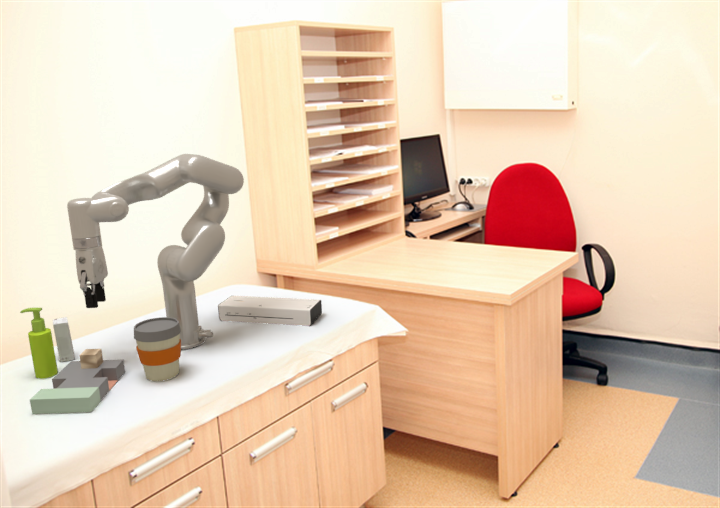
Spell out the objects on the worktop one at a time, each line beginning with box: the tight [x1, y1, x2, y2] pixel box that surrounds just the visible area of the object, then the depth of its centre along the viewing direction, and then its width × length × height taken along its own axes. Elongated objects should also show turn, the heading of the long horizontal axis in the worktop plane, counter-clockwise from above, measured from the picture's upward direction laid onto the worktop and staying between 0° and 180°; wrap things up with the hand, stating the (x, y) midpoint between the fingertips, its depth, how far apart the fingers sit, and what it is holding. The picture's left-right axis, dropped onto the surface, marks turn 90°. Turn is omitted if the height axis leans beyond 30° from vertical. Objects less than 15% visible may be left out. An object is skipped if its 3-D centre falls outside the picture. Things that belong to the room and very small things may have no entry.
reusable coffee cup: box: [133, 316, 182, 382], centre depth 183 cm, size 13×12×15 cm
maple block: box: [79, 348, 104, 369], centre depth 183 cm, size 4×4×4 cm
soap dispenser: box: [19, 307, 59, 380], centre depth 186 cm, size 6×7×20 cm
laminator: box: [217, 295, 323, 327], centre depth 228 cm, size 34×12×6 cm, turn 75°
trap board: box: [29, 358, 126, 415], centre depth 176 cm, size 15×24×4 cm, turn 0°
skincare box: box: [52, 316, 76, 363], centre depth 199 cm, size 6×4×12 cm
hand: (96, 303), depth 188 cm, fingers open, 4 cm apart
